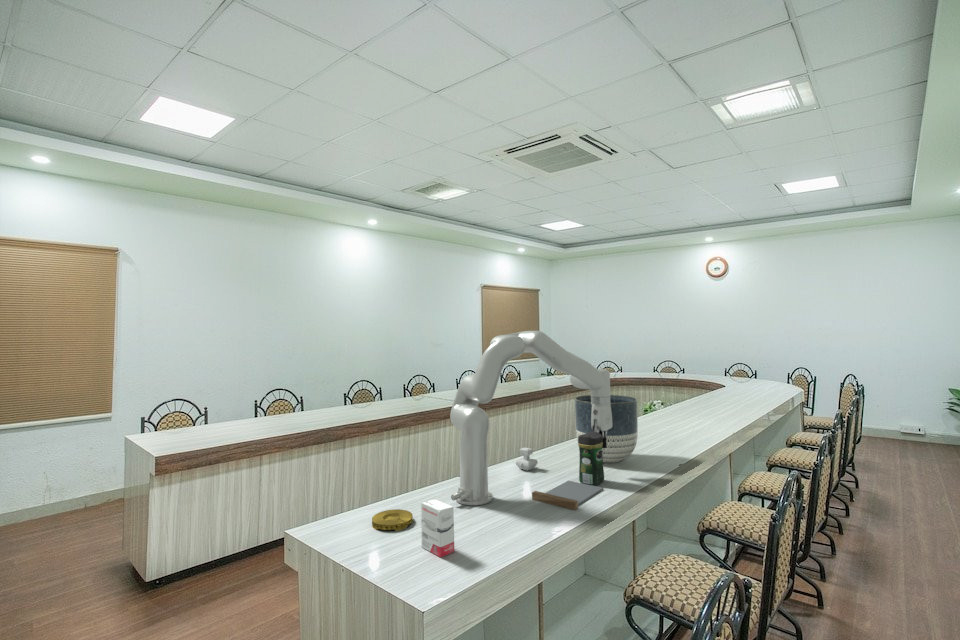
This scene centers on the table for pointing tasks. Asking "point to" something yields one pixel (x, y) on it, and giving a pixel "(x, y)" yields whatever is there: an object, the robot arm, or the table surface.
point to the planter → (622, 431)
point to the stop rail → (555, 500)
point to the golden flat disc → (392, 520)
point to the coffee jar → (591, 458)
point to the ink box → (437, 527)
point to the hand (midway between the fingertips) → (601, 447)
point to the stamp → (526, 459)
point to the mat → (575, 491)
